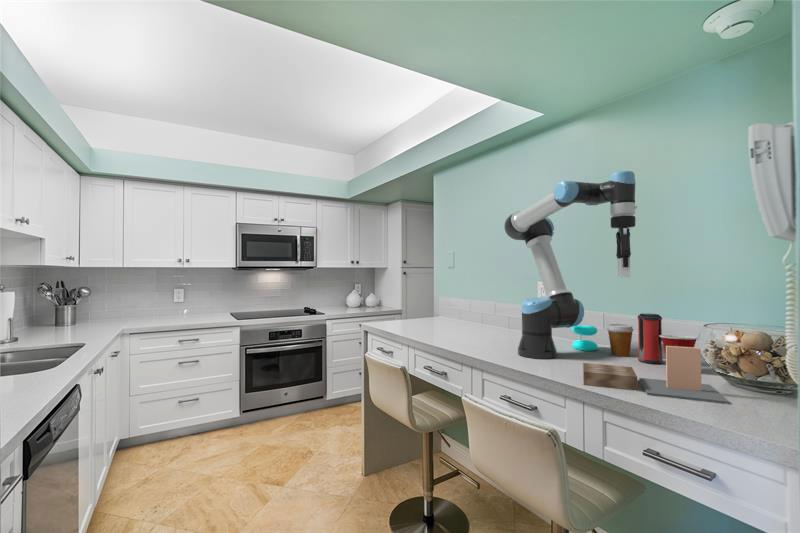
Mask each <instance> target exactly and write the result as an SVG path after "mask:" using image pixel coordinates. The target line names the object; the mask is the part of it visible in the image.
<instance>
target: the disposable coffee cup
mask: <svg viewBox="0 0 800 533" xmlns="http://www.w3.org/2000/svg"><path fill="white" fill-rule="evenodd" d="M606 330H607V332H608V338H609V344H610V345H609V346H610V352H611V353H610V354H611V355H613V356H616V357H620V358H621V357H629V356H630V353H631V346H632V338H633V332H634V330H635V328H633V325H630V324H629V325H628V324H621V323H620V324H619V323H616V324H615V323H610V324H607V327H606Z"/></svg>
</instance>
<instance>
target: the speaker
mask: <svg viewBox="0 0 800 533" xmlns="http://www.w3.org/2000/svg"><path fill="white" fill-rule="evenodd" d="M662 321H663V317H662V316H661V315H660V314H657V313H639V315H637V326H638V330H637V331H638V332H637V333H638V336H637V338H638V357H637V360H638V361H639V362H641V363H644V364H649V363H650V365H661V364H663V343H662V340H661V337H660V336H659V335H663V332H662V328H663V327H662Z"/></svg>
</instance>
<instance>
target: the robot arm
mask: <svg viewBox="0 0 800 533" xmlns="http://www.w3.org/2000/svg"><path fill="white" fill-rule="evenodd" d="M635 175H636V174H635V172H633V171H631V170H620V171H615V172H613V173H611V174H610V175H609V176H610V178H609V180H608V181H604V182H599V183H598V182H597V183H595V182H584V181H573V180H563V181H562V180H561V181H559V182H558V183H557V184H556V185H555V186H554V188H553V191H552V192H551V193H549V194H547V195H545V196H543V197H542V198H540V199H539V200H537V201H536V202H534V203H531V205H529V206H528V207H526V208H524V209H523V210H521V211H520V210H518V211H515V212H513V213H511V214H510V215H509V216H507V218H506V219H505V222H504V225H503V226H504V231H505V234H506V235H507V236H508V237H509V238H510V239H512V240H516V241H524V243H525V245H526V247H527V248H528V249H531V252H532V256H533V258H534V262H535V264H536V267H537V270H538V274H539V277H540V280H541V282H542V286H543V289H544V292H545V295H546V296H539V297H530V298H526V299H524V300H523V301H522V303H521V310H520V312H521V333H522V334H521V336H520V337H521V338H520V341H519V344H518V347H517V354H518V355H519V356H520V357H524V358H530V359H542V360H544V359H545V360H546V359H554V358H556V357H557V356H558V351H557V347H556V345H555V341H554V340H553V329H563V328H567V329H568V328H573V327H574V326H577V325H580V324H581V323H582V322H583V320H584V319H583V318H584V316H585V307H584V304H583V303H582V301H580V300H579V299H576V298H574V296H573V293H572V292H571V291H569V290H568V289H567V287H566V284H565V282H564V279H563V276H562V273H561V270H560V268H559V264H558V261H557V259H556V256H555V253H554V250H553V247H552V245H551V242H552V240H553V236H554V235H555V234H554V233H555V232H554V231H555V226H554V223H553V222H552V219H550V218H549V217H550V216H551V215H554V214H555V213H557V212H559V211H561V210H563V209H564V208H566V207H568V206H571V205H573V204H584V205H586V206H598V205H601V204H607V203H610V206H609V207H610V208H609V209H610V212H609V214H610V216H611V217H610V228H611V229H618V231H617V232H616V233H615V239H616V241H615V242H616V276H617V277H620V278H631V256H632V252H631V232H630V231H631V230H630V228H634V227H636V216H635V214H636V209H638V206H637V205H636V177H635Z"/></svg>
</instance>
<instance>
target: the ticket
mask: <svg viewBox="0 0 800 533" xmlns="http://www.w3.org/2000/svg"><path fill="white" fill-rule="evenodd" d="M665 369H666V370H665V375H666V377H665V378H666V379H665V380H666V387H667V388H674V389H684V390H694V391H701V384H702V350H701V348H700V347H694V348H693V347H677V346H666V355H665Z"/></svg>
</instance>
